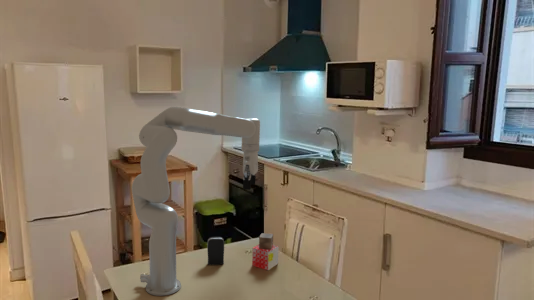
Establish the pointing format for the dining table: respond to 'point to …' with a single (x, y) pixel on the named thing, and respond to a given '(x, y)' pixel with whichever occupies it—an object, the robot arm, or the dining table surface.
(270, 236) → the walnut block
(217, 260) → the battery charger
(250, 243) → the dining table surface
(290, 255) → the dining table surface
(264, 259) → the puzzle cube
